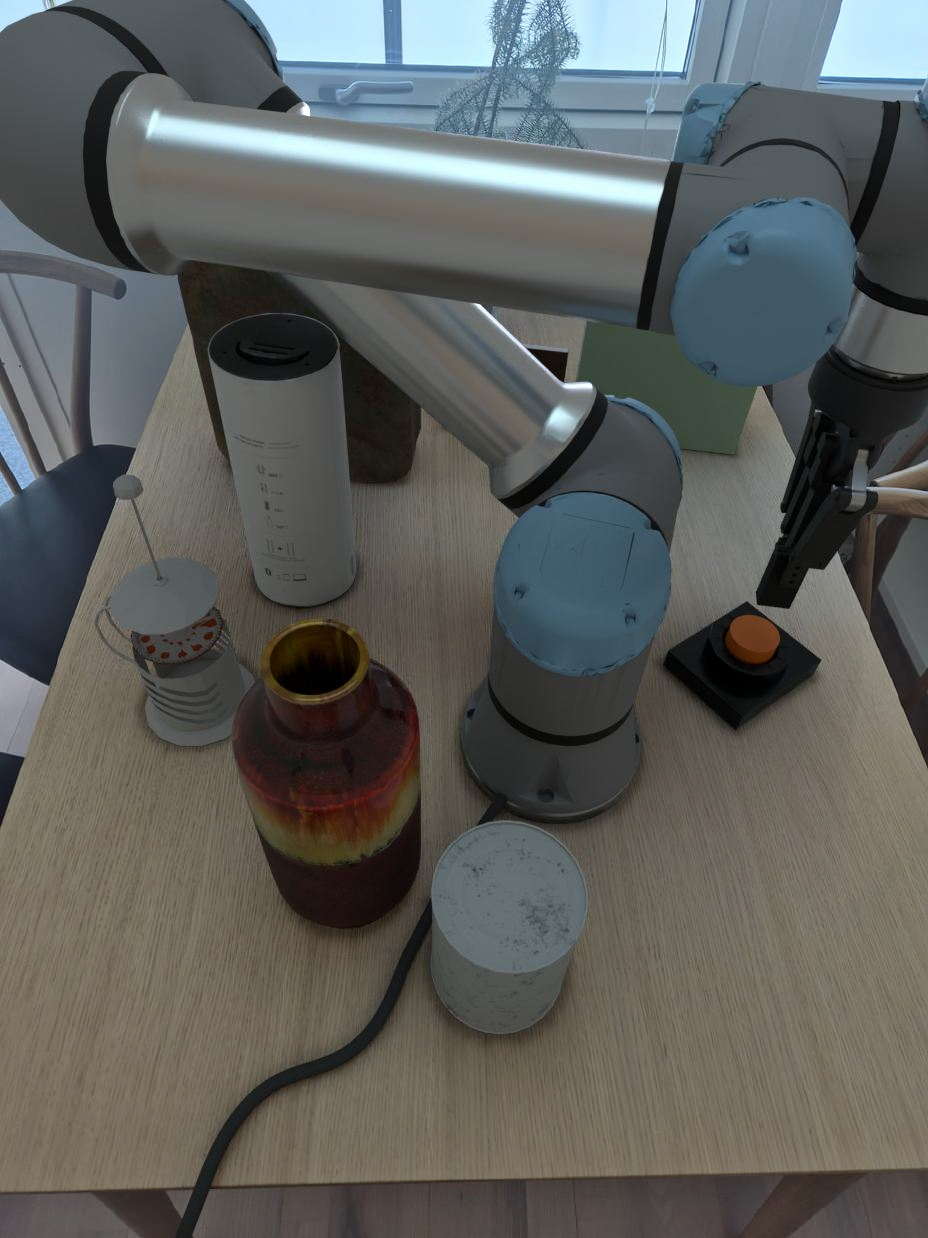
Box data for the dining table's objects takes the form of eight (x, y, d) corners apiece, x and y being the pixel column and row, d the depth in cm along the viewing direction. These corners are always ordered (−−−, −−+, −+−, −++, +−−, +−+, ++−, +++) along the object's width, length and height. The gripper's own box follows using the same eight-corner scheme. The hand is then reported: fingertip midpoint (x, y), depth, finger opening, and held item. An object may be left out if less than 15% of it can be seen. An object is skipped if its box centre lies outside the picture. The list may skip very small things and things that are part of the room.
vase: (389, 786, 68) (374, 561, 49) (445, 905, 62) (453, 700, 42) (258, 838, 65) (185, 618, 45) (303, 970, 58) (240, 779, 39)
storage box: (730, 411, 106) (781, 256, 91) (735, 456, 100) (791, 297, 84) (572, 393, 107) (596, 237, 92) (567, 435, 101) (592, 276, 86)
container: (423, 437, 100) (421, 173, 77) (412, 490, 93) (407, 218, 71) (239, 422, 101) (185, 156, 78) (216, 474, 94) (149, 199, 72)
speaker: (376, 555, 86) (361, 323, 67) (328, 623, 80) (297, 389, 60) (287, 527, 89) (248, 295, 69) (234, 591, 82) (174, 355, 63)
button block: (735, 730, 73) (748, 704, 70) (662, 665, 78) (672, 637, 75) (813, 674, 78) (829, 647, 75) (740, 615, 82) (752, 587, 79)
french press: (234, 755, 70) (163, 538, 51) (105, 732, 71) (-11, 511, 52) (273, 666, 76) (222, 443, 57) (154, 646, 77) (66, 421, 58)
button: (751, 672, 73) (757, 659, 72) (714, 640, 75) (719, 628, 74) (784, 650, 75) (790, 637, 73) (746, 620, 77) (752, 607, 76)
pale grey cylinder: (446, 1050, 55) (450, 991, 46) (418, 913, 61) (416, 836, 52) (581, 1016, 57) (611, 952, 48) (541, 885, 63) (560, 807, 54)
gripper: (972, 415, 48) (827, 666, 66) (924, 306, 57) (807, 554, 74) (841, 401, 49) (732, 653, 66) (813, 295, 57) (723, 543, 75)
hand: (772, 600), depth 70 cm, fingers closed
